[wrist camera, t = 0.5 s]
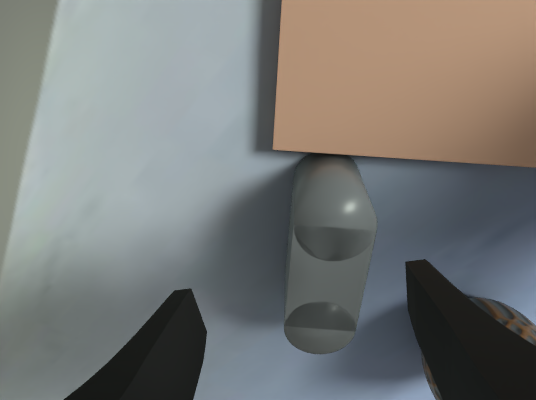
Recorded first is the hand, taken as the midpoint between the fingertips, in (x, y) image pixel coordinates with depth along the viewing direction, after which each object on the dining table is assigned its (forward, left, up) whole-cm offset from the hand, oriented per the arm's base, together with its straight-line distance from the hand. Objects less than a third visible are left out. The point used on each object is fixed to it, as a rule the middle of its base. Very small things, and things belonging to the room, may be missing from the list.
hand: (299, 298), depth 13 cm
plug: (-2, +3, -10) cm, 10 cm away
